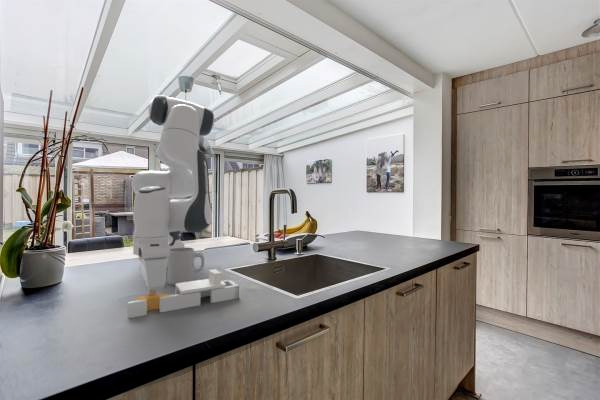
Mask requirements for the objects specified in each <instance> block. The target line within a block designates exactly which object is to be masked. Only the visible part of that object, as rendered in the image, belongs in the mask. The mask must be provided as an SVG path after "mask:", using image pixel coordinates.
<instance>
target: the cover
mask: <svg viewBox="0 0 600 400" xmlns="http://www.w3.org/2000/svg"><path fill="white" fill-rule="evenodd" d="M223 281H224V280H222V272H221V271H219V270H217V269H216V268H214V269H209V270H208V278H204V279H197V280H194V281H189V282H182V283H175V285H174V286H175V288H177V289H178V291H179V292H180V293H181V294H185V293H191V292H198V291H204V290H210V289H217V288H223V287H226V284H225V283H224V282H223Z"/></svg>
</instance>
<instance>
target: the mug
mask: <svg viewBox="0 0 600 400" xmlns="http://www.w3.org/2000/svg"><path fill="white" fill-rule="evenodd" d="M196 258H200V261H201V262H200V263H201V264H200V266H199V267H195V259H196ZM204 267H205V257H204V255H203V253H201V252H196V251H195V248H193V247H181V248H172V249H170V256H169V257H168V267H167V274H166V280H167V284H169V285H171V286H175V283H182V282H189V281H195V273H200V272H202V271H203V269H204Z"/></svg>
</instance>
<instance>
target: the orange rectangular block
mask: <svg viewBox="0 0 600 400" xmlns="http://www.w3.org/2000/svg"><path fill="white" fill-rule="evenodd" d="M169 295H170V294H168V293H165V292H160V293H156V294H152V295H140V296H139V297H138V298H136V299H135V300H134V301H137V300H144V299H146V300H147V311H151V310H158V309H159V297H163V296H169Z"/></svg>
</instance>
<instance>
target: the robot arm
mask: <svg viewBox="0 0 600 400" xmlns="http://www.w3.org/2000/svg"><path fill="white" fill-rule="evenodd" d="M148 115H149V119H150V121H151V122H152V123H154V124H155V125H158V126H159V127H161V126H162V127H163V128H162V130H161V131H162V132H161V135H160V137H159V138H160V139H159V143H158V148H157V153H156V154H157V159H158V160H159V162H161V163H162V164H164V165H165V166H166V167H168V169H167V170H166V171H162V170H143V171H137V172H136V173H135V174H134V175H133V176H132V179H131V182H130V184H131V189H132V191H133V192H134V194H135V196H134V199H133V200H134V201H133V211H132V221H133V225H134V231H133V234H132V254H133V255H135V256H137V257H138V258H137V259H138V260H139V261H140V264H139V265H140V266H139V267H140V273H141V275H142V278H143V281H144V282H145V284H146V291H147V292H146V293H147V295H152V294H157V290H160V289H164V288H165V284H166V280H167V272H168V257H169V256H170V249H172V248H181V247H185V245H186V244H185V243H184V242H183V241H182V240H181V239H182V233H181V232H188V233H196V234H197V233H198V234H199V233H200V234H201V233H202V232H204V231H205V230H206V229H208V227H209V226H210V225H211V224H212V219H213V213H212V205H211V199H210V198H211V196H210V182H209V181H210V180H209V178H210V176H209V165H208V159H207V156H206V154H205V152H204V151H203V150H201V149H200V145H199V143H200V142H199V141H200V136H202V137H203V136H208V135H209V134H210V133H211V131H212V130H213V128H214V127H215V117H214V112H213V111H212V110H211V109H209V108H208V107H206V106H202V105H199V104H197V103H194V102H191V101H188V100H183V99H179V98H175V97H169V96H167V95H164V94H157V95H155V96H153V98H152V99H151V101H150V102H149V105H148ZM189 170H191V172H190V171H189ZM191 173H192V174H191ZM190 196H192V197H190ZM186 197H189V198H186Z"/></svg>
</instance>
